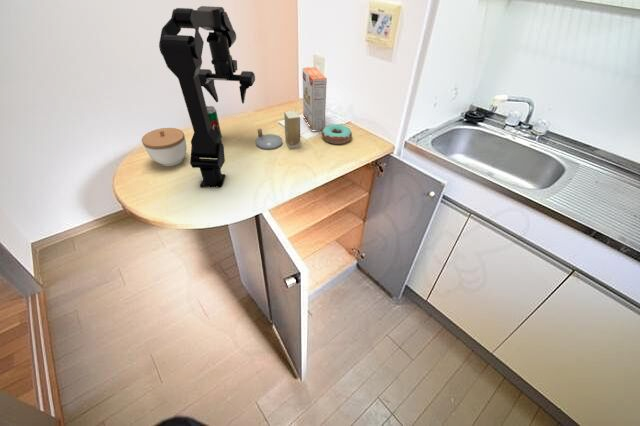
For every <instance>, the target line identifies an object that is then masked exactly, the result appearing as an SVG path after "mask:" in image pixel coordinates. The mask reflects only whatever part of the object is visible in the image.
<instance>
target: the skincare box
mask: <svg viewBox="0 0 640 426" xmlns="http://www.w3.org/2000/svg"><path fill="white" fill-rule="evenodd" d="M283 112H284V113H283V114H284V116H283V117H284V134H285V135H284V140H285V141H284V142H285V144H286V145H287V147H288V148H289V150H293V149H300V148H301V116H300V115H299V113H298V112H297V110H295V109H293V110H285V111H283Z"/></svg>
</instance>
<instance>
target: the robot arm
mask: <svg viewBox="0 0 640 426" xmlns="http://www.w3.org/2000/svg"><path fill="white" fill-rule="evenodd" d="M200 28H201V29H202V30H206V31H209V32H208V36H207V37H206V42H207V43H208V46H209V51H210V55H211V60H210V62H211V65H213V69H214V73H213V72H212V70H211V69H206V68H201V67H202V65H203V59H202V56H203V50H204V49H203V48H204V40H203V37H202V35H201V34H200V31H199V29H200ZM182 29H193V30H195V32H194V36H193V35H183V34H181V35H180V34H179V33H181V30H182ZM236 40H237V33H236V31H235V29H234V28H233V25H232V23H231V20H230V17H229V16H228V13H227V11H225V8H224V7H223V6H208V5H207V6H206V5H201V6H199V7H197V9H194V8H191V7H188V8H187V7H186V8H185V7H177V8H174V9H173V10H172V13H171V18H170V19H169V20H168V21H167V22H166V23H165V24H164V26H163V27H162V29H161V32H160V38H159V43H158V47H159V52H160V54H161V56H162V58H163V60H164V62H165V64H166V68H167V69H168V70H169V71H171V72H172V74H173V75H174V76H175V77H176V78H177V79H178V83H179V87H180V89H181V94H182V96H183V99H184V102H185V106H186V110H187V113H188V116H189V120H190V122H191V126H192V130H193V135H192V137H191V140H190V144H191V149H190V159H189V164H190V166H191V168H194V169H195V168H197V169H199V170H200V174H201V178H202V180H201V182H200V185H199V186H200V188H222V186H223V184H224V182H225V179H226V178H227V177H226V176H227V175H226V173H222V170H221V169H222V167H223V166H224V164H225V161H226V158H225V157H226V156H225V146H224V144H223V141H222V138H221V137H220V132H219V131H218V130H214V129H213V128H212V127H211V123H210V119H209V115H208V111H207V107H206V106H207V104H206V99H205V96H204V92H203V88H204V89H205V91H206V92H208V93H209V95H210V96H211V97H212V98H213V100H214V101H215V102H216V103H218V102H219V96H218V93H217V89H216V86H215V81H227V82H229V81H230V82H239V87H238V88H239V93H240V101H241V104H245V100H246V93H247V89H249V88H250V87H253V85H254V83H255V82H256V75H255V73H254V72H253V71H248V70H247V71H246V70H245V71H244V70H242V71H241V72H240V74H235V73H236V72H237V71H238V60H237V59H233V56H232V55H231V52H230V48H231V47H232V45H234V43H235V42H236Z"/></svg>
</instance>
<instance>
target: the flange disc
mask: <svg viewBox="0 0 640 426" xmlns="http://www.w3.org/2000/svg"><path fill="white" fill-rule="evenodd" d="M257 135H258V137H256V139H255V146H256V148H259V149H261V150H265V151H270V150H271V151H272V150H277V149H279V148H281V147H282V146H283V138H282V137H281V136H279V135H277V134H273V133H272V134H271V133H269V134H268V133H267V134H263V129H262V128H258V129H257Z"/></svg>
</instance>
